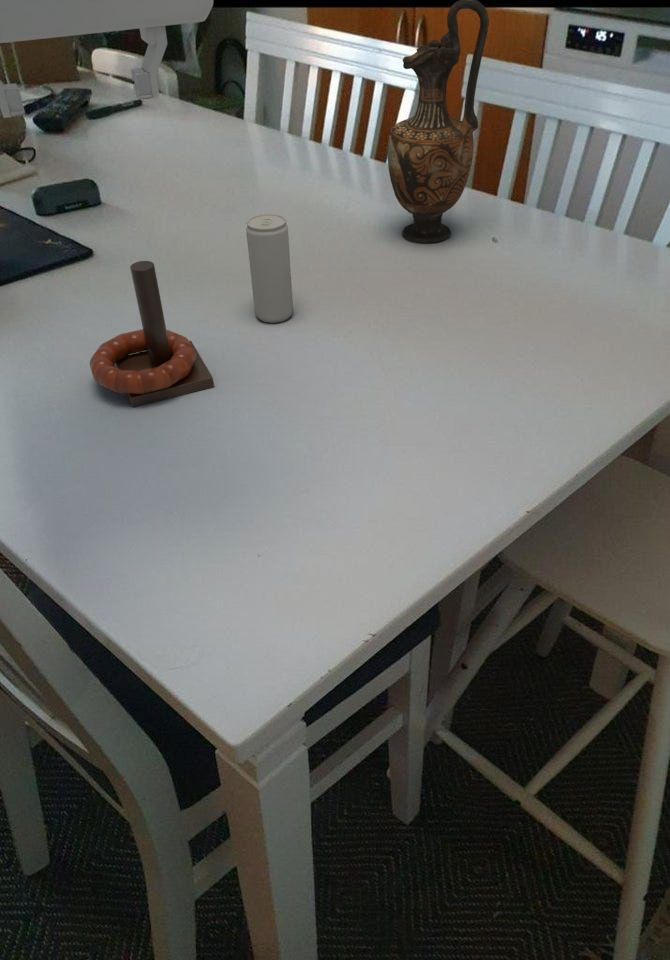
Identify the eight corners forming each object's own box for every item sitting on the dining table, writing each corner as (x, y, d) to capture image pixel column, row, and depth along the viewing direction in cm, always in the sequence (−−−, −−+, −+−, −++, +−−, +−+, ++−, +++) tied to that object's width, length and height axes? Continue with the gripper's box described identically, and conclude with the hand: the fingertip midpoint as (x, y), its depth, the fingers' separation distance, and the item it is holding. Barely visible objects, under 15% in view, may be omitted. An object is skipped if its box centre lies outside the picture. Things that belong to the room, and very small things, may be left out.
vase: (396, 216, 124) (400, -11, 104) (477, 222, 121) (496, -10, 102) (378, 247, 115) (378, 6, 96) (465, 255, 112) (483, 8, 93)
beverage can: (251, 323, 99) (240, 228, 91) (260, 305, 103) (251, 212, 95) (289, 325, 98) (282, 230, 91) (297, 307, 102) (291, 213, 94)
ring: (103, 407, 84) (98, 388, 82) (86, 357, 92) (81, 338, 90) (207, 382, 87) (204, 363, 85) (182, 335, 95) (179, 317, 93)
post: (132, 407, 86) (106, 293, 77) (115, 367, 92) (89, 257, 84) (214, 387, 88) (197, 274, 80) (192, 349, 95) (174, 241, 86)
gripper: (-160, -129, 44) (-72, 138, 52) (205, -145, 50) (230, 97, 58) (-155, -132, 48) (-75, 114, 57) (179, -146, 54) (205, 79, 63)
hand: (82, 105), depth 58 cm, fingers open, 8 cm apart
